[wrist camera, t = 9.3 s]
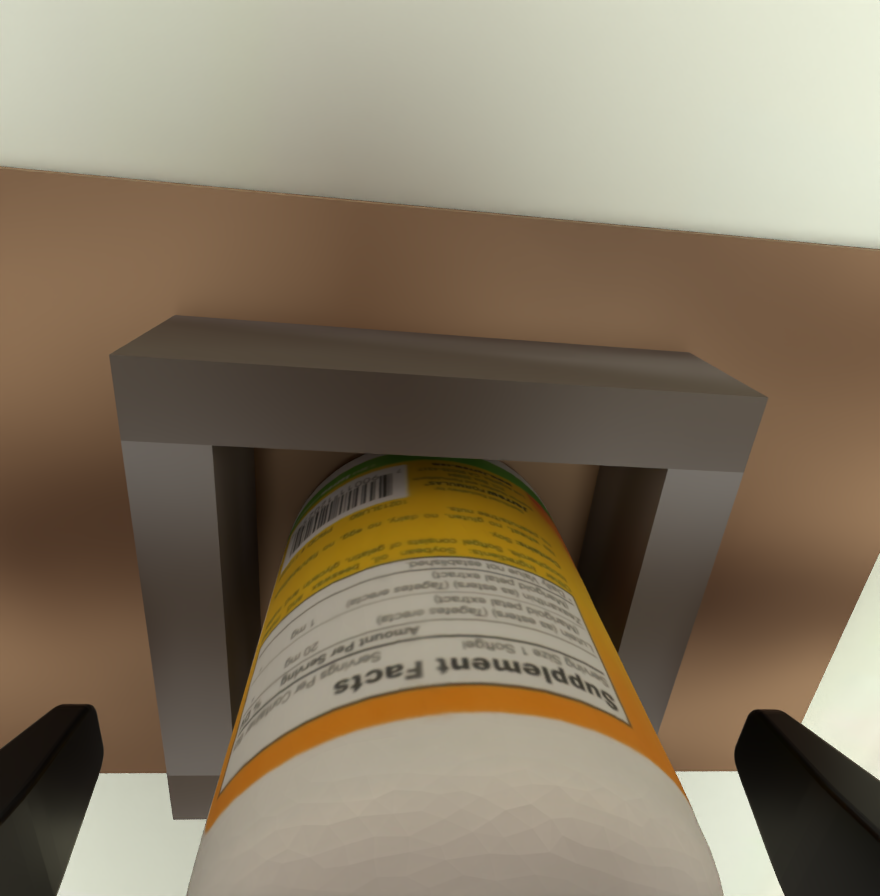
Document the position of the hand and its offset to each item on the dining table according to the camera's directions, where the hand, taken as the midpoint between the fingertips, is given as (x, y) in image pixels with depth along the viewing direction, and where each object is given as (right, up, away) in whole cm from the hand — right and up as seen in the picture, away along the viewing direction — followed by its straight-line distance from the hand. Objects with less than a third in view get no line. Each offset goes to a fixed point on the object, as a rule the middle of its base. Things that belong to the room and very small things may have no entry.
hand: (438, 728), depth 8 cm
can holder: (0, +2, +5) cm, 5 cm away
